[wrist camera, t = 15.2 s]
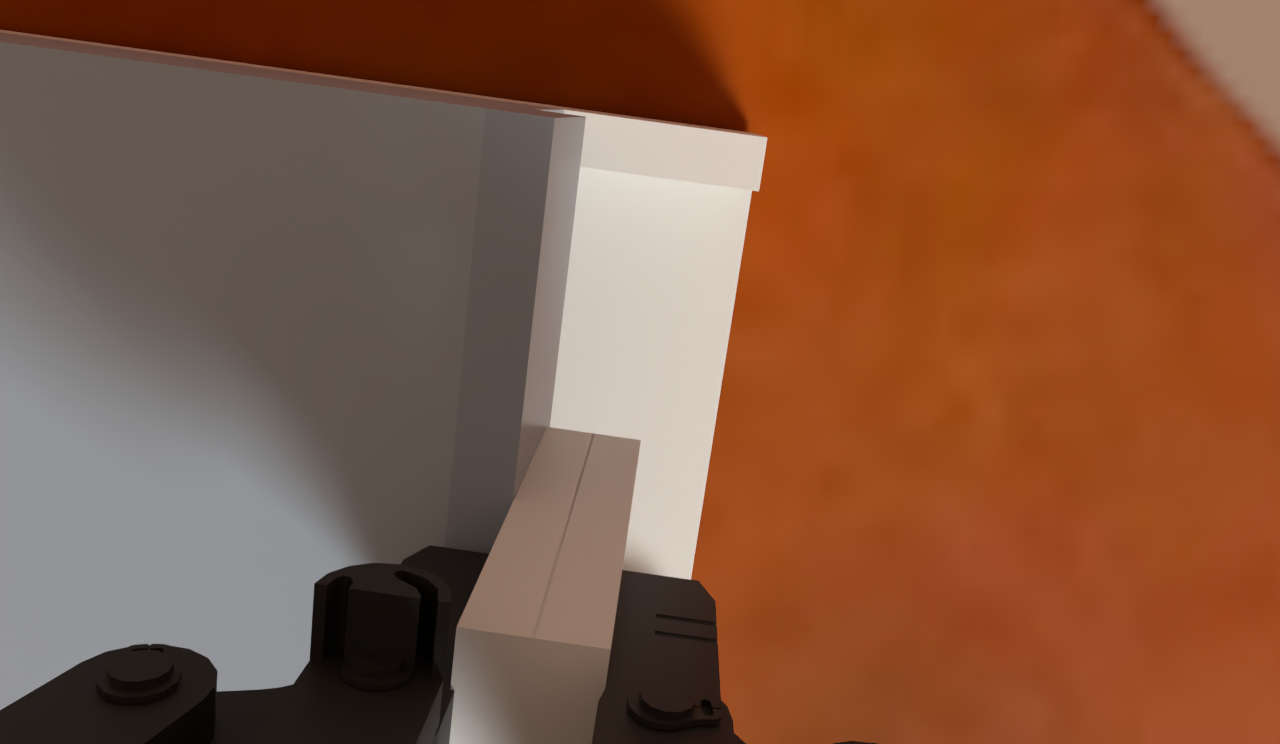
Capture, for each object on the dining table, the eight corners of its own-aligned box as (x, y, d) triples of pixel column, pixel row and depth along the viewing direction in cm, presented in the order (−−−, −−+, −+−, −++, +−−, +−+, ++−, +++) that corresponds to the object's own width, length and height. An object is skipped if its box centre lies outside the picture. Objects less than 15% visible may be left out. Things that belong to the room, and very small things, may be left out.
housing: (-276, 472, 27) (-461, 540, 23) (-318, -14, 24) (-541, -42, 20) (679, 609, 27) (677, 706, 22) (753, 133, 24) (767, 137, 19)
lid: (-144, 592, 22) (-552, 826, 15) (-178, 7, 20) (-704, -56, 12) (537, 691, 22) (460, 978, 15) (607, 115, 19) (554, 118, 12)
